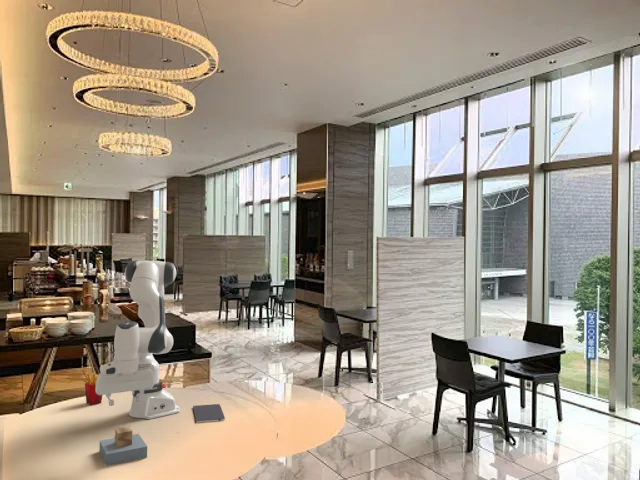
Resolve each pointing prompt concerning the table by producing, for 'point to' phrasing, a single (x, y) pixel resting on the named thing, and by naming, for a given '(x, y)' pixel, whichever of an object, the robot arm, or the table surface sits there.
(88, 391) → the french fries
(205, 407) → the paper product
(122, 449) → the slate plinth
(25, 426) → the table surface
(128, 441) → the walnut cube
